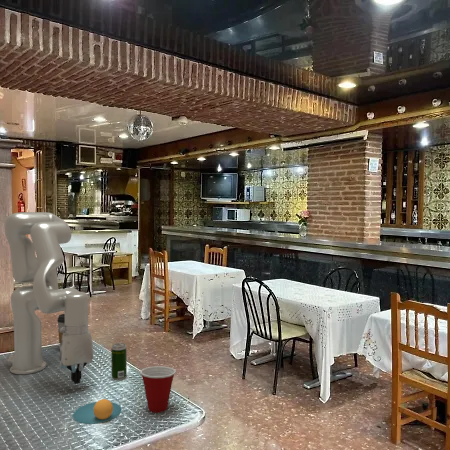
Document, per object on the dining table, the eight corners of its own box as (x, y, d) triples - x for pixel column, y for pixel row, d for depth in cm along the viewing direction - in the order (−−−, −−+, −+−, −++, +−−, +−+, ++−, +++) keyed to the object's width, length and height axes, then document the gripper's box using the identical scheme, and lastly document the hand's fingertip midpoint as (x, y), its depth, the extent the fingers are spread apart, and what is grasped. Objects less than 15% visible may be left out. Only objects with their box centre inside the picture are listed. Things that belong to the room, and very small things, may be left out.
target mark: (62, 420, 125) (62, 419, 125) (90, 399, 139) (90, 399, 139) (105, 426, 121) (105, 426, 121) (129, 405, 135) (129, 404, 135)
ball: (91, 406, 123) (89, 421, 125) (110, 411, 123) (107, 425, 125) (98, 393, 128) (96, 406, 130) (116, 397, 128) (114, 411, 130)
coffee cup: (60, 346, 192) (60, 313, 192) (80, 345, 193) (79, 312, 193) (55, 352, 184) (54, 317, 184) (75, 352, 185) (74, 317, 184)
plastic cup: (181, 403, 136) (181, 366, 136) (166, 419, 126) (166, 378, 125) (151, 398, 140) (151, 361, 139) (133, 413, 129) (133, 374, 129)
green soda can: (129, 378, 156) (129, 345, 156) (115, 381, 153) (115, 348, 153) (122, 373, 161) (122, 341, 160) (109, 377, 157) (108, 344, 157)
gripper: (56, 335, 138) (56, 391, 139) (101, 328, 147) (101, 381, 148) (50, 329, 144) (50, 383, 145) (94, 323, 153) (94, 373, 154)
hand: (76, 382), depth 147 cm, fingers closed
